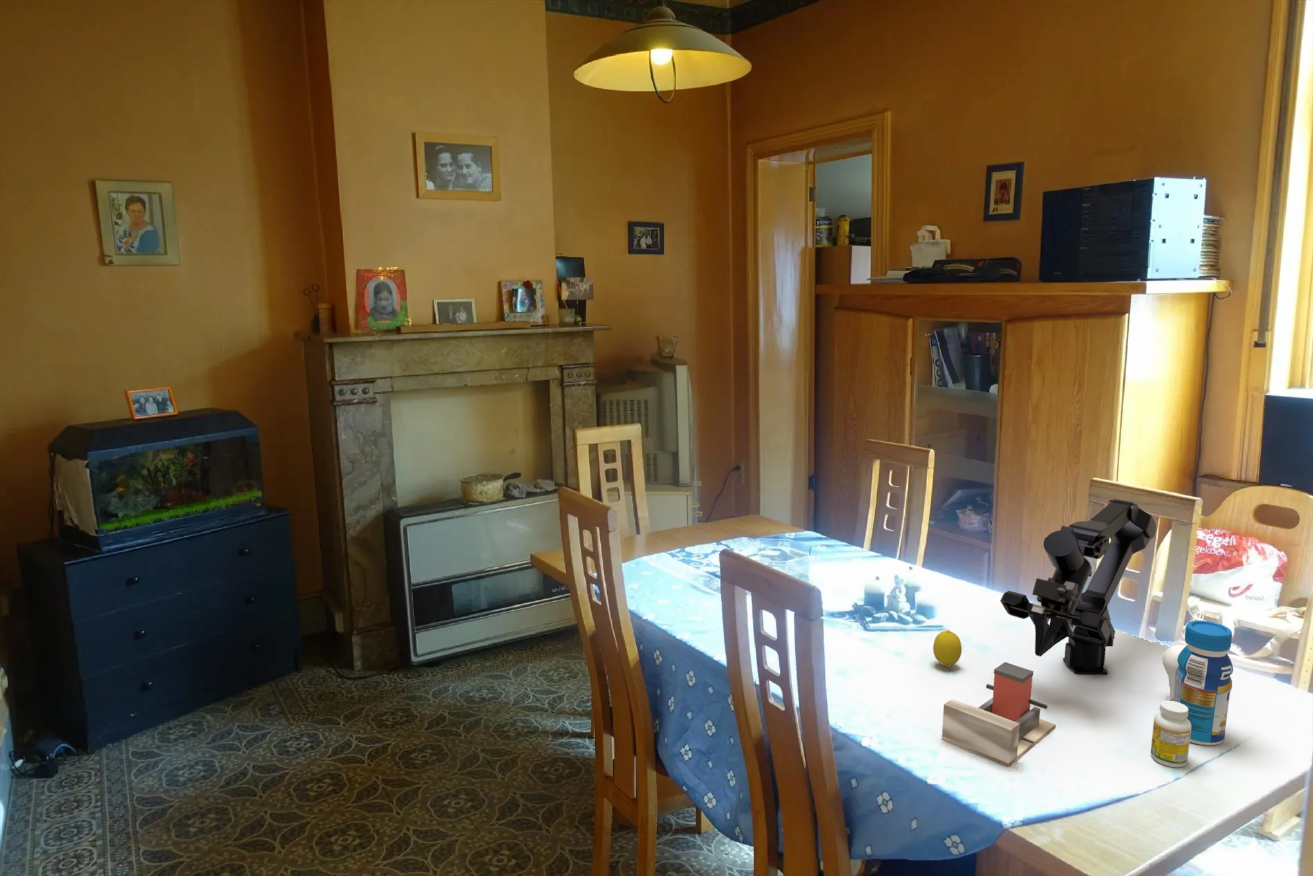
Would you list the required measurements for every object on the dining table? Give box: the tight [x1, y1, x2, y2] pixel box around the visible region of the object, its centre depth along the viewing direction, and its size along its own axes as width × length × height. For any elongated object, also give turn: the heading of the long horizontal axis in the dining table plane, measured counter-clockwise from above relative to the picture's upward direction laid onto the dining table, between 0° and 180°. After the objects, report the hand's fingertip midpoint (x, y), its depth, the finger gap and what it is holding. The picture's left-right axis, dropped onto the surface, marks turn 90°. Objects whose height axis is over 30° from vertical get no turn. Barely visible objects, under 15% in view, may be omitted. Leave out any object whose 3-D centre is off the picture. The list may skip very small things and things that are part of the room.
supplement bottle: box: [1150, 700, 1191, 768], centre depth 145 cm, size 5×5×10 cm
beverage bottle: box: [1172, 619, 1234, 746], centre depth 152 cm, size 8×8×20 cm
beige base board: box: [941, 697, 1056, 768], centre depth 154 cm, size 18×12×7 cm, turn 133°
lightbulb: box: [1161, 644, 1187, 700], centre depth 164 cm, size 6×6×11 cm
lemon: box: [932, 629, 963, 668], centre depth 180 cm, size 6×6×8 cm
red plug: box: [985, 661, 1048, 722], centre depth 156 cm, size 4×11×10 cm, turn 43°
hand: (1037, 655), depth 162 cm, fingers closed
